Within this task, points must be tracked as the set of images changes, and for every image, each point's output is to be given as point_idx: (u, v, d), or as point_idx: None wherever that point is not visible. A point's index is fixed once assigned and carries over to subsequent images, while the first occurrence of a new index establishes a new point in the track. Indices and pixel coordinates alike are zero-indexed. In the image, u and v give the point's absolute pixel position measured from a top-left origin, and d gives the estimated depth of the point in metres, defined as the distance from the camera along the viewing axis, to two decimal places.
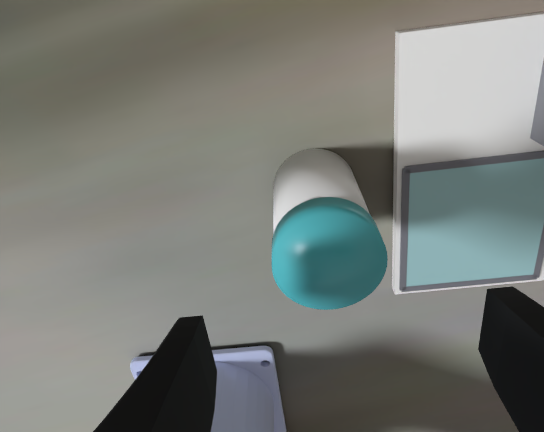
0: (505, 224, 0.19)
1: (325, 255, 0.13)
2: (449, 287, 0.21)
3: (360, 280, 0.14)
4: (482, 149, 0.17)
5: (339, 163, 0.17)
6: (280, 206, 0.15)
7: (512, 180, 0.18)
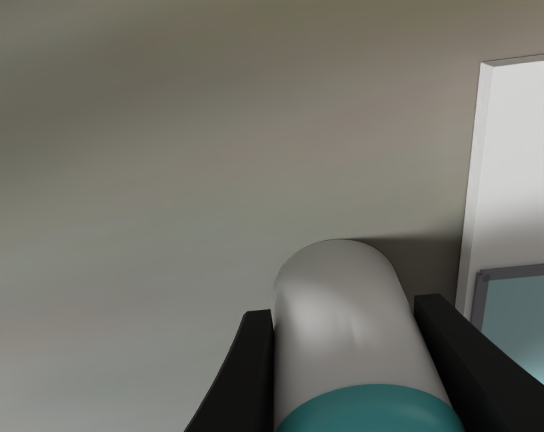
0: None
1: None
2: None
3: None
4: None
5: (380, 271, 0.11)
6: (285, 369, 0.09)
7: None
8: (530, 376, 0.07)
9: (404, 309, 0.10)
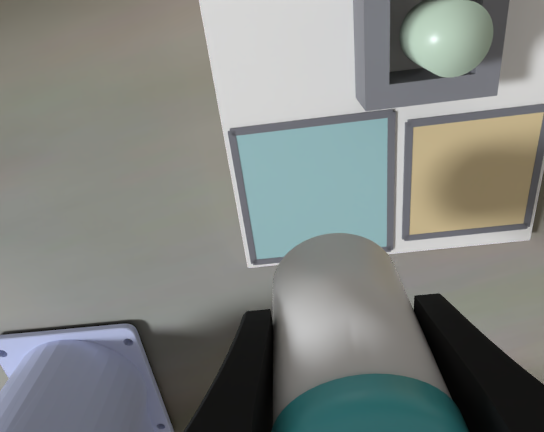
0: (347, 191, 0.18)
1: None
2: None
3: None
4: (308, 110, 0.17)
5: (377, 263, 0.11)
6: (283, 362, 0.09)
7: (345, 144, 0.17)
8: (530, 376, 0.07)
9: (401, 300, 0.10)
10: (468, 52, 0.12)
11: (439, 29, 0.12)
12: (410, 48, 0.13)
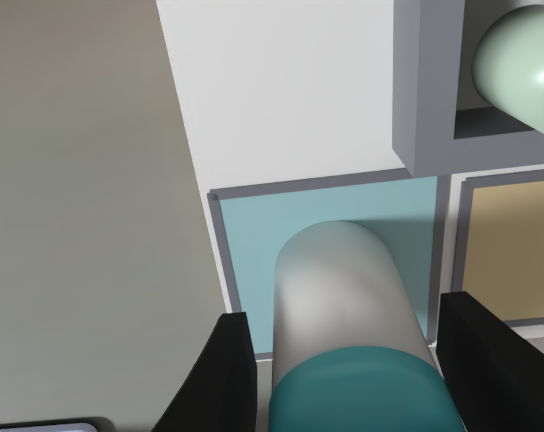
0: None
1: None
2: None
3: None
4: (322, 165, 0.11)
5: (373, 249, 0.11)
6: (282, 338, 0.09)
7: (375, 210, 0.12)
8: None
9: (395, 283, 0.10)
10: None
11: None
12: (498, 88, 0.08)
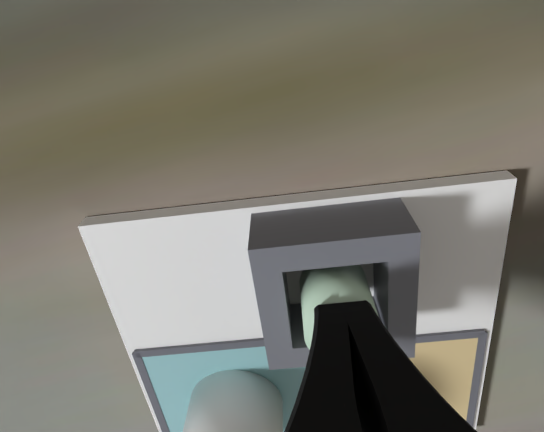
0: None
1: None
2: None
3: None
4: (219, 334, 0.15)
5: (252, 399, 0.15)
6: None
7: (263, 362, 0.16)
8: (426, 384, 0.07)
9: None
10: None
11: None
12: (303, 317, 0.12)
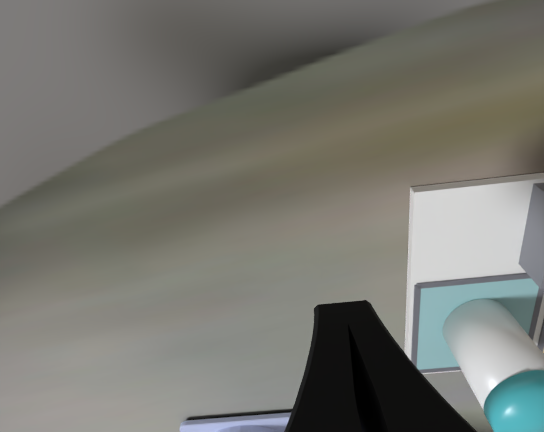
0: None
1: (540, 419, 0.17)
2: (452, 370, 0.25)
3: None
4: (479, 271, 0.21)
5: (506, 315, 0.21)
6: (480, 370, 0.19)
7: (504, 293, 0.22)
8: (426, 384, 0.07)
9: (525, 334, 0.20)
10: None
11: None
12: None
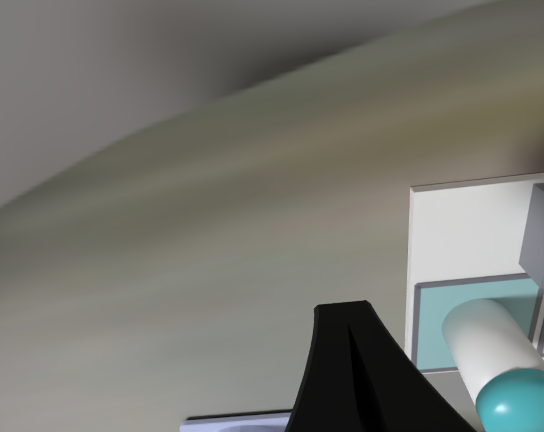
0: None
1: (530, 418, 0.17)
2: (452, 370, 0.25)
3: None
4: (479, 271, 0.21)
5: (502, 314, 0.21)
6: (472, 369, 0.19)
7: (504, 293, 0.22)
8: (426, 384, 0.07)
9: (521, 333, 0.20)
10: None
11: None
12: None
